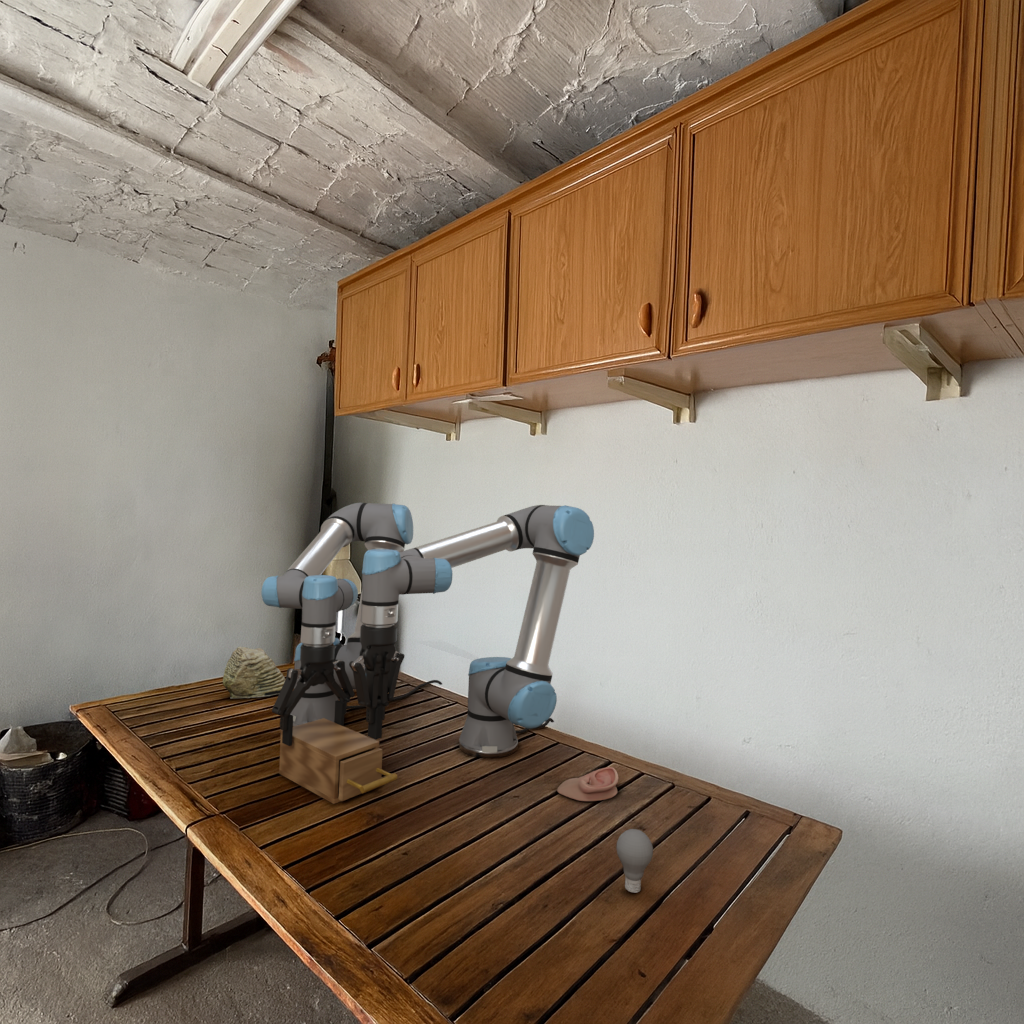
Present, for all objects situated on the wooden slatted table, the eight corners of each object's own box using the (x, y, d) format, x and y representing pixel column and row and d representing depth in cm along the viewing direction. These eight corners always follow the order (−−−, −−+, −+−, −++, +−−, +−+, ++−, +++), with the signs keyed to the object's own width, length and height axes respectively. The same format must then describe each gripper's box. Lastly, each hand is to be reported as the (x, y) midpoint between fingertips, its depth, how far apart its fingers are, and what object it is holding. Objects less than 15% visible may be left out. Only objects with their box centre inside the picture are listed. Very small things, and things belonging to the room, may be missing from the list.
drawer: (399, 794, 134) (401, 757, 134) (360, 811, 126) (361, 772, 126) (328, 759, 150) (329, 726, 150) (289, 772, 142) (290, 737, 142)
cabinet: (377, 786, 140) (379, 741, 140) (333, 804, 131) (335, 756, 131) (322, 759, 153) (323, 718, 152) (279, 773, 144) (280, 730, 144)
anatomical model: (555, 779, 137) (562, 758, 149) (554, 797, 138) (561, 775, 149) (617, 787, 135) (619, 766, 146) (616, 806, 135) (618, 783, 146)
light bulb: (610, 879, 108) (613, 822, 108) (644, 879, 109) (647, 822, 109) (619, 902, 102) (622, 840, 102) (655, 901, 103) (658, 840, 103)
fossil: (218, 695, 195) (220, 647, 195) (278, 685, 208) (279, 640, 207) (228, 703, 189) (230, 653, 188) (289, 692, 201) (290, 645, 201)
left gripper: (277, 654, 133) (272, 755, 133) (372, 639, 152) (368, 727, 152) (258, 648, 137) (253, 746, 137) (352, 634, 157) (348, 719, 157)
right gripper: (365, 631, 124) (360, 750, 124) (414, 623, 134) (410, 733, 135) (341, 625, 129) (337, 740, 129) (391, 617, 139) (387, 724, 139)
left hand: (313, 736), depth 145 cm, fingers open, 13 cm apart
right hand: (374, 736), depth 132 cm, fingers closed
